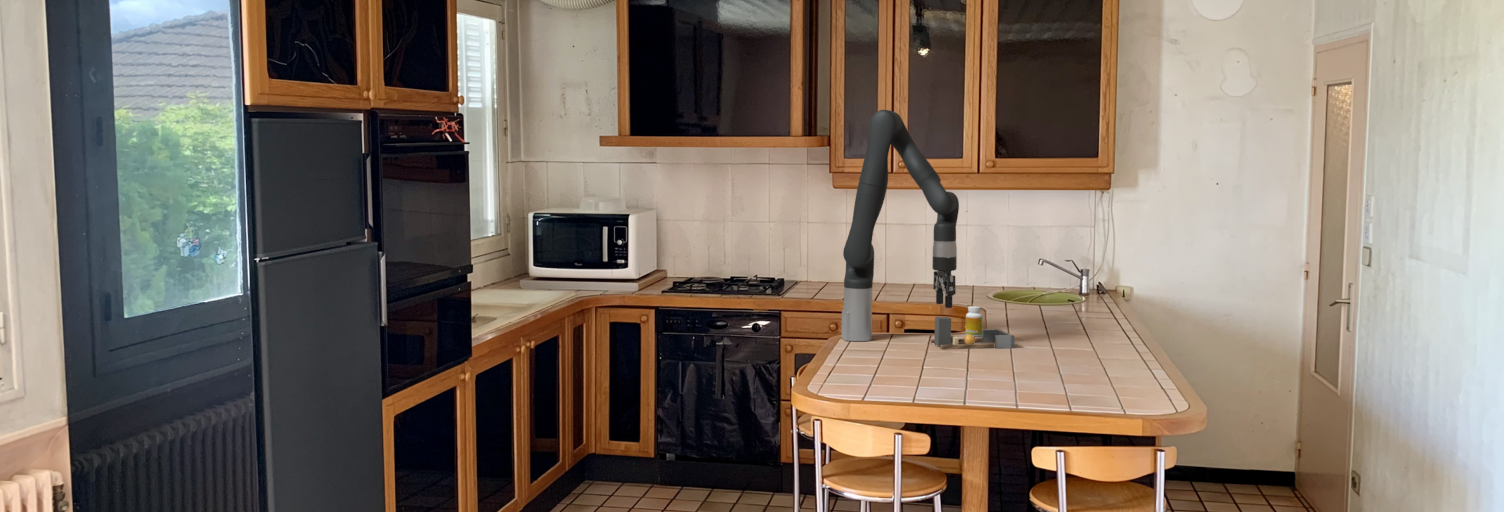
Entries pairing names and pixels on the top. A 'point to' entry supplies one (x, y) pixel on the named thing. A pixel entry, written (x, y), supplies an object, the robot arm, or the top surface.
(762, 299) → the top surface
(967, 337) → the ball
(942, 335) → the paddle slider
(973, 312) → the supplement bottle
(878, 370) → the top surface
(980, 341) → the lane
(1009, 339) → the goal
